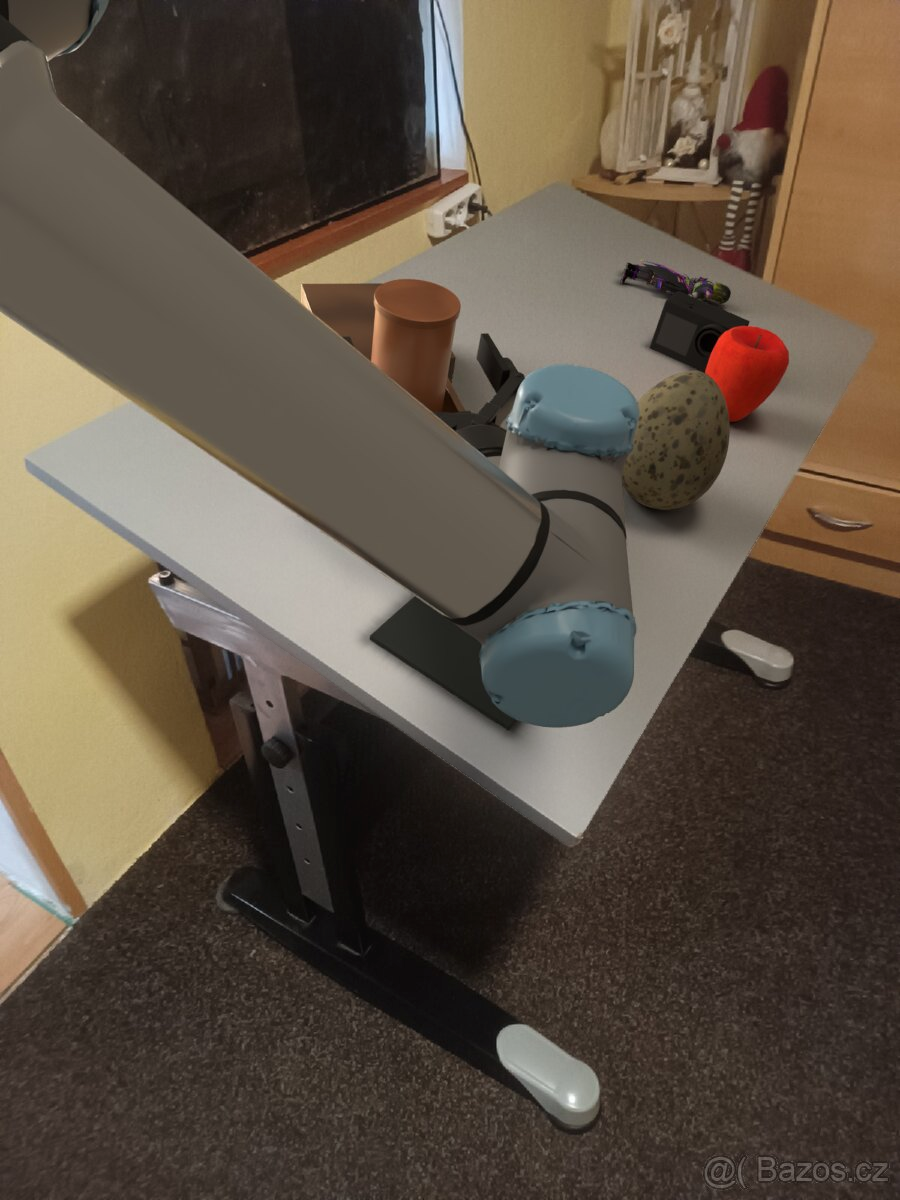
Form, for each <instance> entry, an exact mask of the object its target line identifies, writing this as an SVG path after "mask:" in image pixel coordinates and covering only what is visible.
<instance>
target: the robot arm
mask: <svg viewBox="0 0 900 1200" xmlns="http://www.w3.org/2000/svg"><path fill="white" fill-rule="evenodd" d="M109 2H110V0H0V313H1V314H2V315H4V316H6V317H7V318H8V319H10V320H11V321H12V322H14V323H16V324H17V325H19V326H20V327H22V328H23V329H25V330H26V331H27V332H29V333H31V334H32V335H33V336H35V337H36V338H38V339H39V340H40V341H42V342H44V343H45V344H47V345H48V346H49V347H51V348H52V349H54V350H55V351H57V352H58V353H60V354H61V355H63V356H64V357H66V358H67V359H68V360H69V361H71V362H73V363H74V364H76V365H77V366H79V367H80V368H82V370H85V371H86V372H87V373H89V374H90V375H92V376H93V377H95V379H98V380H99V381H100V382H102V383H103V384H105V385H106V386H107V387H109V388H111V389H112V390H113V391H115V392H116V393H118V394H119V395H121V396H122V397H124V398H125V399H126V400H129V401H130V402H131V403H133V404H134V405H135V406H137V407H138V408H139V409H141V410H142V411H144V412H146V413H147V414H148V415H150V416H151V417H153V418H155V419H156V420H157V421H158V422H160V423H162V424H163V425H164V426H166V427H168V428H169V429H171V430H172V431H173V432H175V433H176V434H177V435H179V436H181V437H182V438H183V439H185V440H187V441H188V442H189V443H191V444H192V445H194V446H195V447H197V448H198V449H200V450H201V451H202V452H204V453H205V454H207V455H208V456H210V457H211V458H213V459H214V460H215V461H217V462H219V463H220V464H222V465H223V466H224V467H226V468H227V469H229V470H230V471H232V472H233V473H235V474H236V475H238V476H239V477H240V478H242V479H243V480H245V481H246V482H248V484H251V485H252V486H253V487H255V488H256V489H258V490H259V491H261V492H262V493H264V494H265V495H267V496H268V497H270V498H271V499H272V500H274V501H275V502H277V503H278V504H280V505H281V506H283V507H284V508H286V509H287V510H289V511H290V512H292V513H293V514H295V515H296V516H297V517H299V518H300V519H302V520H303V521H305V522H306V523H307V524H309V525H310V526H312V527H313V528H315V529H317V531H319V532H320V533H322V534H324V535H325V536H327V537H328V538H329V539H331V540H332V541H334V542H335V543H337V544H338V545H340V546H341V547H343V548H344V549H345V550H347V551H349V552H350V553H352V554H353V555H354V556H356V557H357V558H359V559H360V560H362V561H363V562H364V563H366V564H367V565H369V566H371V567H372V568H373V569H374V570H376V571H377V572H379V573H380V574H382V575H383V576H385V577H386V578H388V579H389V580H391V581H392V582H393V583H395V584H396V585H397V586H400V587H401V588H402V589H404V590H405V591H407V592H408V593H409V594H411V595H412V596H413V597H414V596H416V597H417V598H418V599H420V600H421V601H423V602H424V603H426V604H427V605H429V606H430V607H432V608H433V609H435V610H436V611H437V612H439V613H440V614H442V615H443V616H444V617H446V618H447V619H449V620H450V621H452V622H453V623H454V624H455V625H457V626H458V627H459V628H461V629H462V630H463V631H465V632H466V633H468V634H469V635H471V636H472V637H474V638H475V639H477V640H478V641H479V642H480V643H481V644H482V647H481V650H480V653H479V658H480V665H481V670H482V681H483V684H484V687H485V690H486V691H487V693H488V695H489V696H490V697H491V699H492V702H493V703H494V704H495V705H496V707H497V708H499V709H500V710H501V711H502V712H504V713H505V714H507V715H509V716H510V717H512V718H514V719H516V721H519V722H522V723H525V724H528V725H532V726H536V727H542V728H553V729H555V728H556V729H557V728H559V729H560V728H571V727H578V726H582V725H586V724H589V723H593V721H596V719H598V718H599V717H600V718H601V717H604V716H605V715H606V714H610V713H611V712H613V711H614V710H615V709H617V708H618V707H619V706H620V705H621V704H622V703H623V701H624V700H625V699H626V698H627V696H628V695H629V693H630V690H631V688H632V686H633V682H634V678H635V636H636V633H637V629H638V628H637V627H638V626H637V621H636V617H635V615H634V611H633V610H634V609H633V599H632V591H631V590H632V589H631V580H630V579H631V578H630V569H629V568H630V567H629V559H628V550H627V548H628V547H627V527H626V513H625V499H624V487H623V485H622V473H623V468H624V464H625V461H626V459H627V457H628V455H629V453H630V452H632V450H633V448H634V443H633V439H634V435H635V431H636V428H637V424H638V420H639V407H638V403H637V402H638V401H637V399H636V398H635V395H634V394H633V393H632V391H631V390H630V389H629V388H628V387H627V386H626V385H625V384H623V383H622V382H621V381H619V380H618V379H616V378H615V377H614V376H612V375H609V374H608V373H606V372H603V371H601V370H598V369H595V368H591V367H586V366H581V365H575V364H568V363H567V364H566V363H563V364H562V363H559V364H552V365H546V366H543V367H540V368H537V369H535V370H534V371H532V372H530V373H529V374H527V376H525V374H524V372H523V373H522V372H521V371H518V369H517V368H516V366H515V364H514V363H513V361H512V360H511V359H510V358H509V357H503V355H502V354H501V352H500V351H499V348H498V347H497V345H496V343H495V342H494V340H493V339H492V337H491V335H490V334H489V333H487V332H484V333H480V336H479V342H478V347H477V353H476V361H477V363H478V364H479V366H480V367H481V370H482V371H483V373H484V375H485V376H486V378H487V380H488V381H489V383H490V385H491V387H492V388H493V390H494V393H495V395H494V396H493V397H492V398H491V400H490V401H489V402H488V401H487V402H486V403H485V404H484V405H483V406H482V407H481V409H480V410H479V412H477V413H474V412H472V411H471V410H465V411H460V412H456V413H449V412H436V413H434V412H432V411H430V410H429V409H428V408H426V407H425V406H424V405H423V404H422V403H420V402H419V401H418V400H417V399H416V398H414V397H413V396H412V395H411V394H410V393H408V392H407V391H406V390H405V389H404V388H402V387H401V386H400V385H399V384H398V383H396V382H395V381H394V380H393V379H392V378H390V377H389V376H388V375H387V374H386V373H384V372H383V371H382V370H381V369H380V368H378V367H377V366H376V365H375V364H374V363H372V362H371V361H370V360H369V359H368V358H366V357H365V356H364V355H363V354H362V353H360V352H359V351H358V350H357V349H356V348H354V345H353V343H352V340H351V338H350V336H347V337H341V336H340V335H339V334H338V333H336V332H335V331H334V330H333V329H332V328H330V327H329V326H328V325H327V324H326V323H324V322H323V321H322V320H321V319H320V318H318V317H317V316H316V315H315V314H314V313H312V312H311V311H310V310H309V309H308V308H306V307H305V306H304V305H303V304H302V303H301V301H300V300H298V299H297V298H295V296H294V295H292V294H291V293H290V292H288V291H287V290H286V289H285V288H284V287H282V286H281V285H280V283H278V282H276V280H274V279H273V278H272V277H270V276H269V275H268V274H267V273H266V272H264V271H263V270H262V269H261V268H259V267H258V266H257V265H256V264H255V263H254V262H253V261H251V260H250V259H249V258H248V257H246V256H245V255H244V254H243V253H242V252H240V251H239V250H238V249H237V248H236V247H234V245H232V244H231V243H230V242H228V241H227V240H226V239H225V238H224V237H223V236H221V235H220V234H219V233H217V231H215V230H214V229H213V228H212V227H210V225H208V224H207V223H206V222H204V220H202V219H201V218H200V217H198V216H197V215H196V214H195V213H193V212H192V211H191V210H190V209H188V207H186V206H185V205H184V204H183V203H182V202H181V201H179V200H178V199H177V198H176V197H174V196H173V195H172V194H171V193H169V191H167V190H166V189H165V188H164V187H163V186H161V185H160V184H159V183H158V182H156V181H155V180H154V179H152V177H151V176H149V175H148V174H147V173H146V172H145V171H143V170H142V169H141V168H140V167H138V166H137V165H136V164H135V163H134V162H132V161H131V160H130V159H129V158H127V156H125V155H124V154H123V153H121V152H120V151H119V150H118V149H117V148H115V146H113V145H112V144H111V143H110V142H109V141H108V140H106V139H105V138H104V137H103V136H101V135H100V134H99V133H97V132H96V131H95V130H94V129H93V128H92V127H90V126H89V125H88V124H87V123H86V122H85V121H83V120H82V119H81V118H80V117H79V116H77V115H76V114H75V113H74V112H72V111H71V110H70V109H68V108H67V107H66V106H65V105H64V104H63V103H62V102H61V101H60V99H59V97H58V94H57V91H56V87H55V84H54V80H53V77H52V73H51V69H50V65H49V61H51V60H52V59H53V58H57V57H60V56H63V55H66V54H70V53H72V52H74V51H76V50H77V49H79V48H80V47H81V46H82V45H84V43H85V42H87V40H88V39H89V38H90V36H91V34H92V33H93V31H94V29H95V27H97V25H98V23H99V22H100V21H101V19H102V17H103V15H104V14H105V12H106V10H107V8H108V5H109ZM505 420H506V428H507V429H505V428H504V427H501V426H502V425H503V423H504V421H505Z"/></svg>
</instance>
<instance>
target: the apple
mask: <svg viewBox="0 0 900 1200" xmlns="http://www.w3.org/2000/svg"><path fill="white" fill-rule="evenodd" d="M789 364H790V352H789V350H788V348H787V346H786V345H785V343H784V341H783V340H782V339H781V337H779V336H778V335H777V334H775V333H774V332H772V331H770V330H769V329H765V328H762V327H758V326H751V325H748V326H739V327H734V328H732V329H730V330H728V331H726V332H724V333H723V334H722V335H721V336H720V338H719V339H718V341H717V343H716V345H715V347H714V349H713V351H712V353H711V355H710V358H709V361H708V364H707V368H706V371H705V374H707V375H709V376H710V377H711V378H712V379H713V380H714V381H715V382H716V383H717V385H718V386H719V388H720V390H721V392H722V393H723V395H724V398H725V401H726V405H727V409H728V415H729V423H731V422H733V423H734V422H739V421H740V420H741V421H742V420H743V419H744V418H746V417H747V416H748V415H750V414H751V413H753V412H754V411H755V410H757V409H758V408H759V407H760V406H761V405H762V404H763V403H764V402H765V401H766V400H767V399H768V398H769V397H770V396H771V395H772V393H773V392H774V391H775V389H776V388H777V387H778V386H779V384H780V383H781V380H782V379H783V377H784V375H785V373H786V372H787V369H788V366H789Z"/></svg>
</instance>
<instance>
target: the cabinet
mask: <svg viewBox="0 0 900 1200" xmlns="http://www.w3.org/2000/svg"><path fill="white" fill-rule="evenodd" d="M384 283H385V282H381V283H379V282H377V283H371V282H370V283H369V282H368V283H367V282H365V283H363V282H361V283H359V282H357V283H301V284H300V303H302V304H303V305H304V306H305V307H306V308H308V309H309V310H310V311H311V312H312V313H314V314H315V315H316V316H317V317H318V318H320V319H321V320H322V321H323V322H324V323H326V324H327V325H328V326H329V327H330V328H332V329H333V330H334V331H335V332H336V333H338V334H339V335H340V336H341V337H347V336H350V338H351V340H352V343H353V345H354V348H356V349H357V350H358V351H359V352H360V353H362V354H363V355H364V356H365V357H366V358H368V359H369V360H370V361H371V357H372V344H373V332H374V320H375V306H374V294H375V291H376V289H377V288H378V287H379V286H380V285H382V284H384ZM456 360H457V357H456V356H455V354H454V352H453V350H452V351H451V358H450V364H449V370H448V378H449V380H450V382H451V384H452V385H453V379H454V373H455V367H456Z"/></svg>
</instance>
